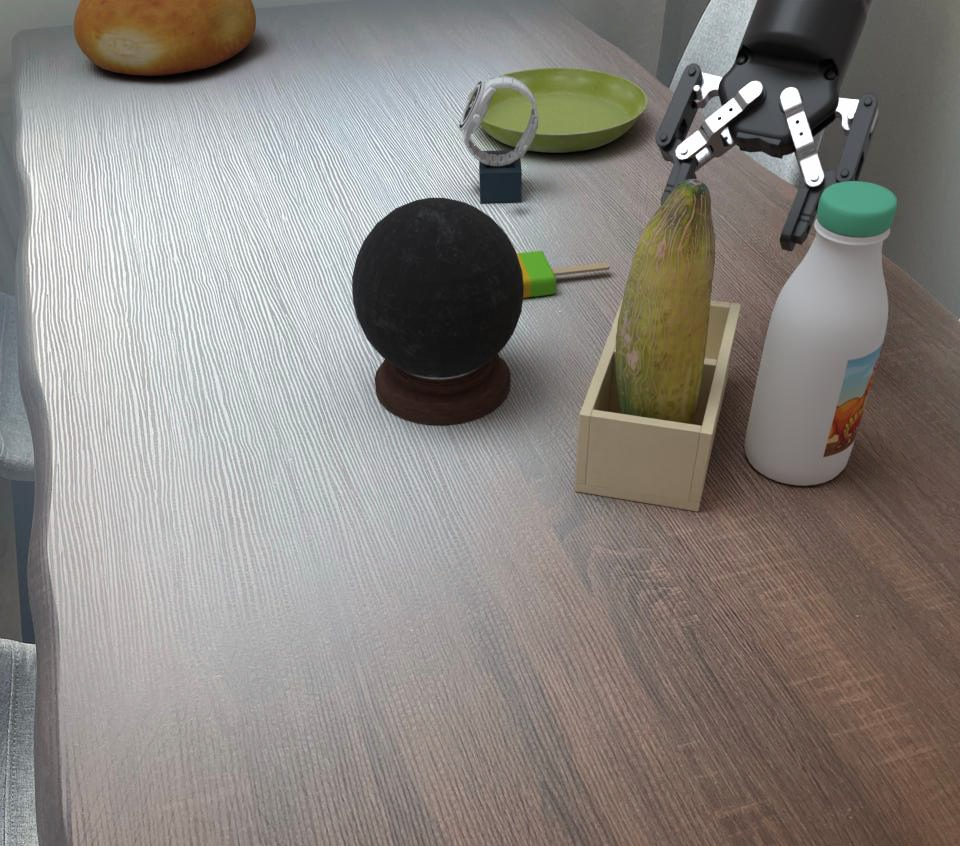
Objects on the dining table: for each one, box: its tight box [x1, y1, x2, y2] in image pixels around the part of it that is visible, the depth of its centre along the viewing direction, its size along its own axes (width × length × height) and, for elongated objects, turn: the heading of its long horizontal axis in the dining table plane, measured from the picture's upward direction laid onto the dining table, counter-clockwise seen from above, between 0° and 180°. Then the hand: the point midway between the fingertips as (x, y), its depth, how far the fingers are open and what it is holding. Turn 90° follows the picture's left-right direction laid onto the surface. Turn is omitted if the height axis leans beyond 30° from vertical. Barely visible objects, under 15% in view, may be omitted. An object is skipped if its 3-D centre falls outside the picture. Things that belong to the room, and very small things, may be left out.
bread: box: [73, 0, 257, 77], centre depth 135 cm, size 23×23×10 cm
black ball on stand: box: [351, 197, 524, 426], centre depth 79 cm, size 13×13×15 cm
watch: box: [458, 75, 539, 204], centre depth 105 cm, size 6×8×11 cm
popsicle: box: [516, 250, 611, 299], centre depth 95 cm, size 6×15×2 cm, turn 101°
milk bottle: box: [743, 180, 898, 487], centre depth 70 cm, size 8×8×20 cm
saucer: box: [466, 67, 648, 154], centre depth 119 cm, size 21×21×3 cm
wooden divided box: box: [574, 297, 742, 513], centre depth 77 cm, size 9×17×7 cm, turn 164°
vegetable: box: [615, 178, 716, 424], centre depth 69 cm, size 6×6×20 cm
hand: (726, 233), depth 72 cm, fingers open, 8 cm apart
